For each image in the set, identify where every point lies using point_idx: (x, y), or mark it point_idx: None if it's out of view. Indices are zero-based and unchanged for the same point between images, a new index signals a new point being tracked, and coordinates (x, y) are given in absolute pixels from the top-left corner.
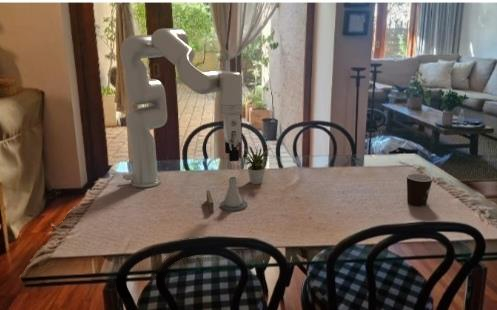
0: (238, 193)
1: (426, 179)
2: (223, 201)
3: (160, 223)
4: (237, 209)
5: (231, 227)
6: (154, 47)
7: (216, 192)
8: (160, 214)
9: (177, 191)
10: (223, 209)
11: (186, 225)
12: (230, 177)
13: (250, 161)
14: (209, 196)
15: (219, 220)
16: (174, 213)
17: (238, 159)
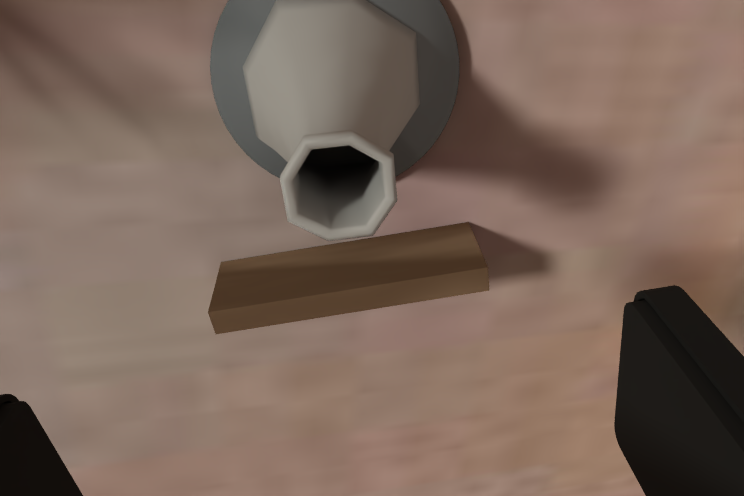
0: (359, 62)
1: None
2: (277, 167)
3: (554, 461)
4: (456, 45)
5: (741, 91)
6: None
7: (40, 226)
8: (439, 480)
9: (73, 461)
10: (414, 158)
11: (616, 352)
12: (303, 215)
13: None
14: (353, 302)
15: (600, 177)
16: (436, 426)
17: (688, 302)
